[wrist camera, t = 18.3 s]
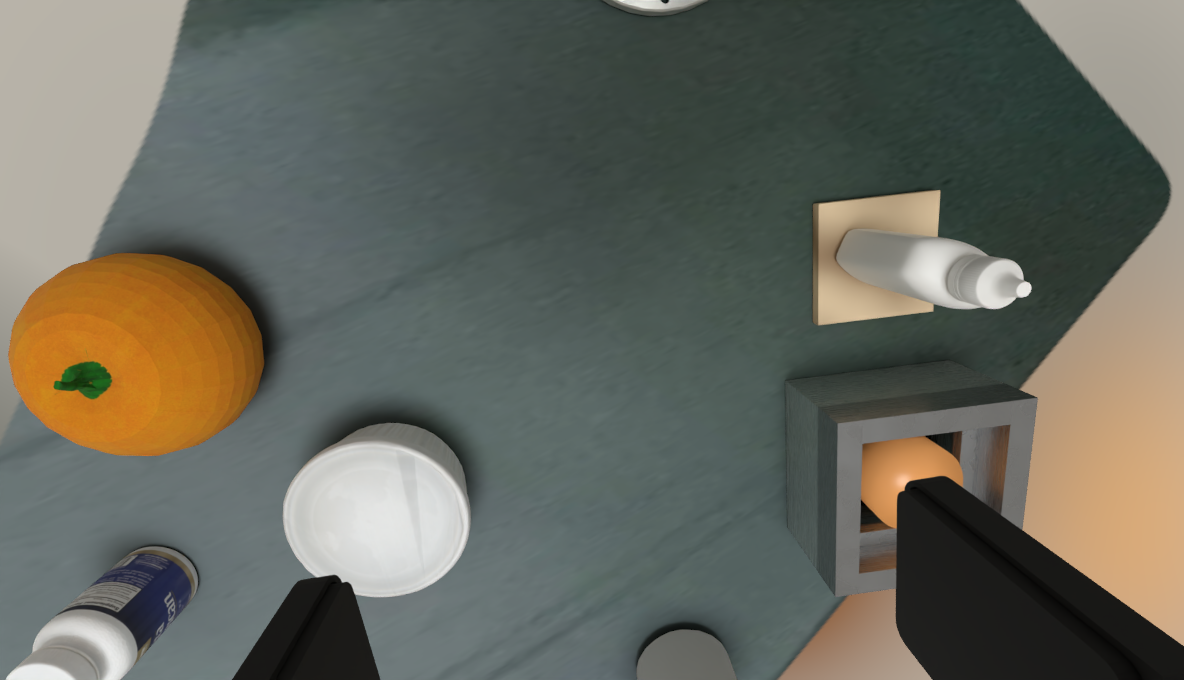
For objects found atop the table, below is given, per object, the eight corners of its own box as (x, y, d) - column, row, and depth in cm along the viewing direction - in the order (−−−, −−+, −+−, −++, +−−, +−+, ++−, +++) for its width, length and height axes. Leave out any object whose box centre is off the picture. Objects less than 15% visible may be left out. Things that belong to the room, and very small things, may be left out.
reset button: (830, 417, 40) (872, 452, 34) (911, 406, 40) (966, 440, 34) (829, 491, 41) (870, 536, 36) (907, 481, 41) (959, 523, 36)
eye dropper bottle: (879, 202, 36) (1036, 208, 24) (924, 267, 37) (1093, 303, 25) (824, 247, 36) (952, 275, 25) (870, 310, 37) (1012, 364, 26)
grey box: (785, 380, 39) (837, 423, 32) (952, 359, 40) (1041, 397, 32) (787, 527, 42) (835, 596, 35) (941, 506, 43) (1020, 570, 36)
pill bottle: (200, 611, 41) (96, 736, 31) (122, 603, 40) (-9, 729, 31) (201, 548, 40) (92, 659, 30) (120, 539, 39) (-17, 649, 30)
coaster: (812, 203, 36) (818, 204, 35) (932, 190, 36) (940, 190, 36) (812, 322, 38) (818, 325, 37) (925, 308, 38) (933, 311, 38)
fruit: (65, 256, 34) (-130, 282, 24) (259, 236, 34) (145, 255, 25) (126, 432, 37) (-25, 517, 27) (304, 411, 37) (217, 488, 28)
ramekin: (511, 490, 40) (505, 534, 35) (394, 575, 41) (372, 630, 36) (405, 376, 37) (382, 405, 32) (283, 470, 39) (242, 513, 33)
